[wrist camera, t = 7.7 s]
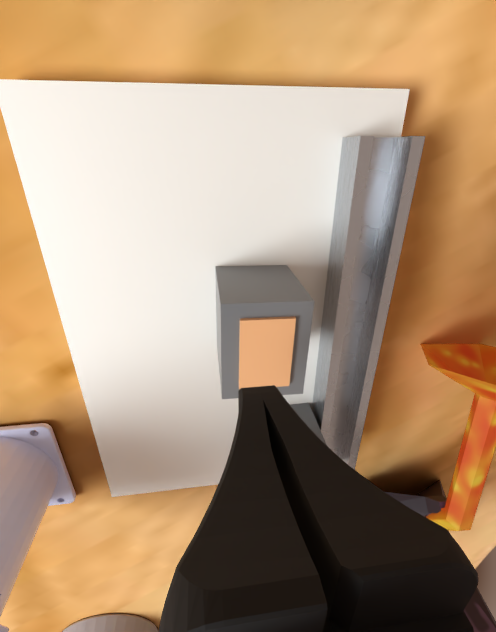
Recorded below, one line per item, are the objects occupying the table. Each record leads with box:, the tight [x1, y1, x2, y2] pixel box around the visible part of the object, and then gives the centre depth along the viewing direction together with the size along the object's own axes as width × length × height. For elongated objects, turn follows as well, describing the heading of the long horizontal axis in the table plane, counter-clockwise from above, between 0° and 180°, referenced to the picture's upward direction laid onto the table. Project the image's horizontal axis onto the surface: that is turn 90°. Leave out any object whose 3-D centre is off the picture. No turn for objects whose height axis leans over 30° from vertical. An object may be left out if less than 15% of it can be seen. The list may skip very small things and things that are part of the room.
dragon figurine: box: [385, 344, 496, 632], centre depth 25 cm, size 10×12×25 cm
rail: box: [312, 136, 425, 470], centre depth 20 cm, size 3×22×2 cm, turn 0°
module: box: [215, 265, 315, 399], centre depth 17 cm, size 4×5×5 cm
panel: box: [0, 79, 410, 497], centre depth 21 cm, size 18×26×1 cm
